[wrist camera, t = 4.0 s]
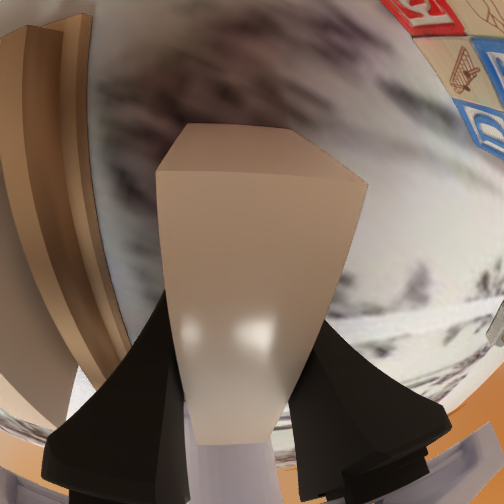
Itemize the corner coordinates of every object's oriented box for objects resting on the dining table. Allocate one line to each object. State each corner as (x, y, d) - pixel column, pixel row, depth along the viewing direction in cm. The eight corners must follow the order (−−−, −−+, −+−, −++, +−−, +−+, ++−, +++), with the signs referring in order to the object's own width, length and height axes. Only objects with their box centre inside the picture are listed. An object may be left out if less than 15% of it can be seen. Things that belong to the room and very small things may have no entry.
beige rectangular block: (252, 360, 15) (266, 441, 11) (195, 361, 14) (197, 445, 10) (290, 129, 8) (368, 184, 4) (187, 123, 8) (155, 171, 4)
